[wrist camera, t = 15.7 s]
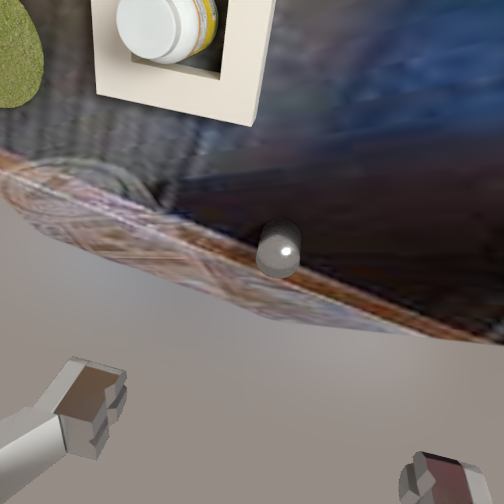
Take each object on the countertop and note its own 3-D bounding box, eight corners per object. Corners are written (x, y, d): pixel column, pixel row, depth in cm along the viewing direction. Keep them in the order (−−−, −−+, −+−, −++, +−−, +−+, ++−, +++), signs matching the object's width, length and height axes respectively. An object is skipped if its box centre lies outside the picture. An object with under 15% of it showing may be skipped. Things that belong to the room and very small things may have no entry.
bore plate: (288, -74, 28) (285, -81, 26) (255, 117, 36) (251, 126, 34) (103, -111, 29) (83, -121, 26) (111, 87, 37) (96, 93, 34)
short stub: (305, 222, 42) (304, 247, 37) (296, 255, 44) (293, 282, 40) (265, 214, 42) (259, 237, 38) (258, 247, 44) (252, 273, 40)
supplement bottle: (228, -4, 31) (197, -3, 23) (208, 63, 34) (174, 84, 26) (165, -34, 31) (112, -44, 23) (150, 37, 34) (99, 50, 26)
